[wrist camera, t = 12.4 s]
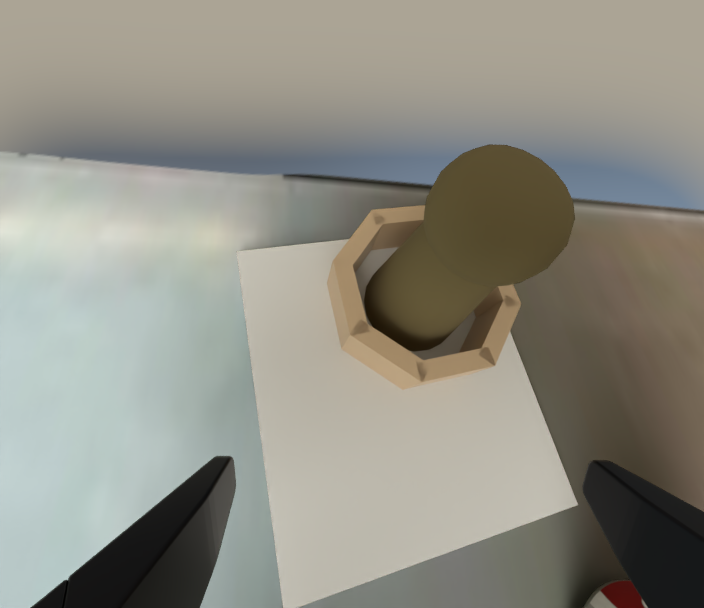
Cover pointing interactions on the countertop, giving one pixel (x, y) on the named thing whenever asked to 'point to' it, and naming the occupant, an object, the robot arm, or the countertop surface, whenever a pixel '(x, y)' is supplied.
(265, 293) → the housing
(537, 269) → the cork
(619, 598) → the soda can
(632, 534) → the robot arm
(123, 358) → the countertop surface
